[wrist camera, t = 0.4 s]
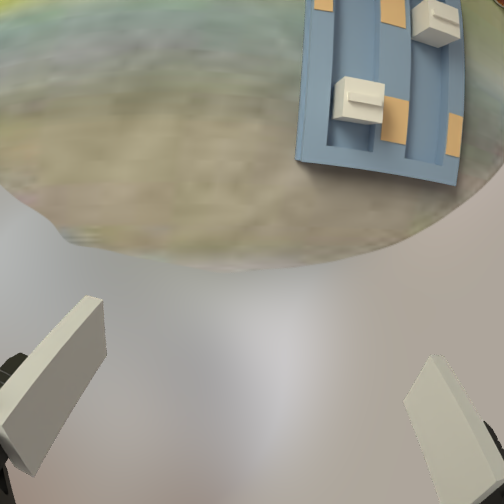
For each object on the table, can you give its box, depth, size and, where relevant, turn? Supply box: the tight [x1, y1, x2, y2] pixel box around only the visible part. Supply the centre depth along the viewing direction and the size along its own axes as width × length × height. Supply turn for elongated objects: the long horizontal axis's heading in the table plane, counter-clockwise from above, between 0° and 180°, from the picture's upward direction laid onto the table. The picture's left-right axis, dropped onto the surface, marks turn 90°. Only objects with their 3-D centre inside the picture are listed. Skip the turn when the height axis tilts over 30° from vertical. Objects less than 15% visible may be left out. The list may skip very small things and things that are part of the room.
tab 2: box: [410, 0, 460, 48], centre depth 24 cm, size 4×4×6 cm
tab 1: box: [331, 76, 385, 125], centre depth 29 cm, size 4×4×6 cm
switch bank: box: [295, 0, 465, 186], centre depth 29 cm, size 26×20×3 cm
